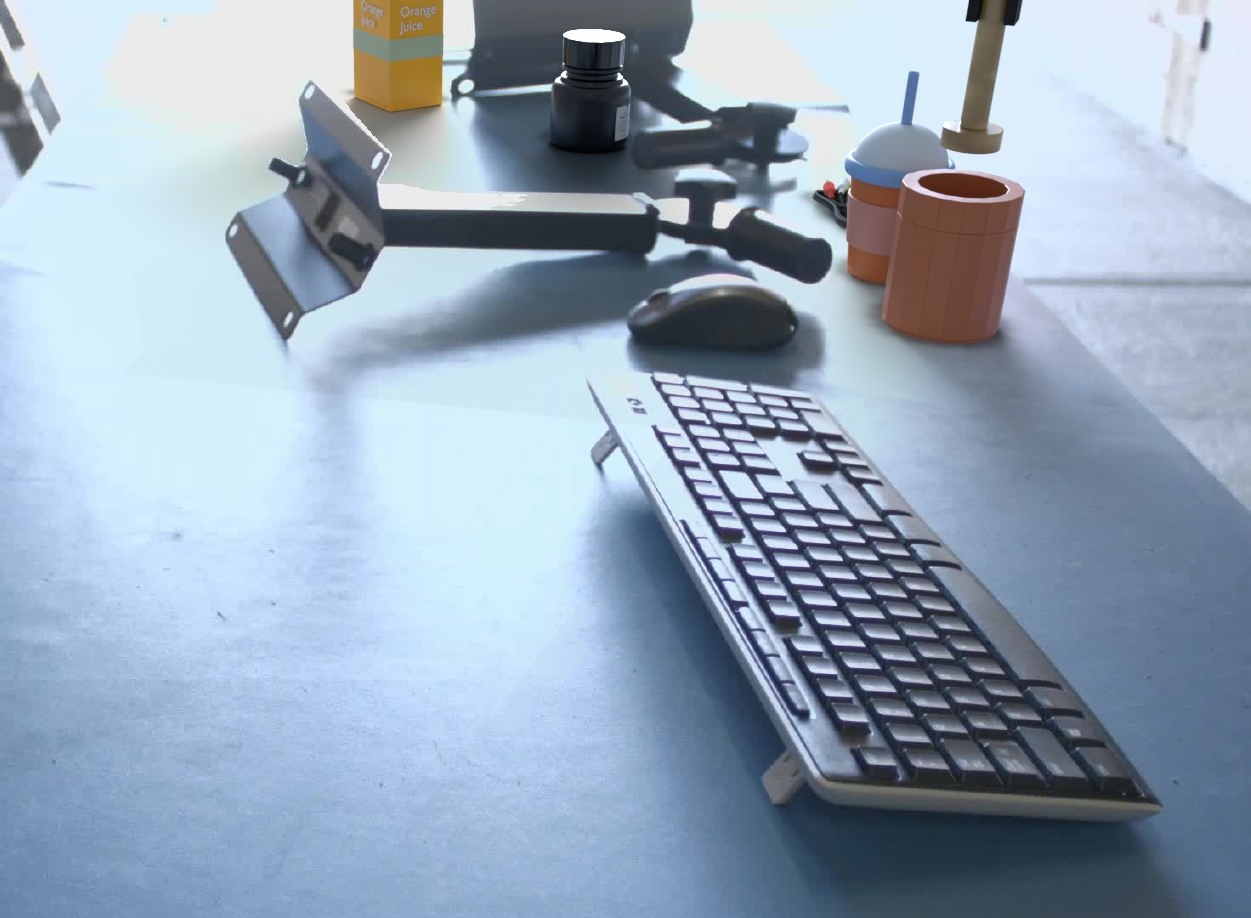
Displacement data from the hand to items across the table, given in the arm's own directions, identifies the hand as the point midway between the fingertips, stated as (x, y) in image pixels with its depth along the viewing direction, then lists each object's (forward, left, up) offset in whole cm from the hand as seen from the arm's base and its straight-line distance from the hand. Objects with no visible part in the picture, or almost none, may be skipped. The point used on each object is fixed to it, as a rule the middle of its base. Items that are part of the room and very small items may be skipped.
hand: (992, 19), depth 112 cm
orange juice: (+74, -46, -25) cm, 90 cm away
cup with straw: (+7, -10, -25) cm, 28 cm away
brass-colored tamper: (0, 0, -9) cm, 9 cm away
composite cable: (+15, -27, -25) cm, 40 cm away
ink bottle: (+46, -39, -25) cm, 65 cm away
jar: (0, 0, -25) cm, 25 cm away
